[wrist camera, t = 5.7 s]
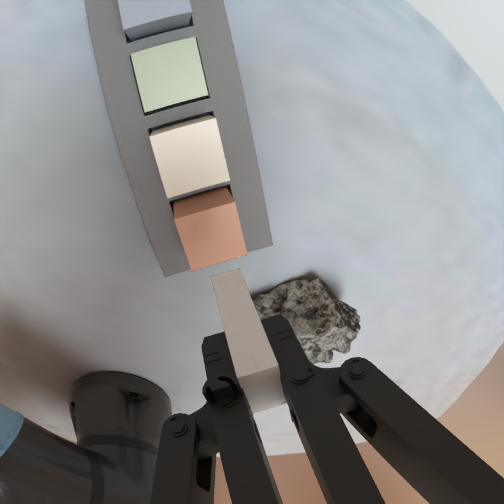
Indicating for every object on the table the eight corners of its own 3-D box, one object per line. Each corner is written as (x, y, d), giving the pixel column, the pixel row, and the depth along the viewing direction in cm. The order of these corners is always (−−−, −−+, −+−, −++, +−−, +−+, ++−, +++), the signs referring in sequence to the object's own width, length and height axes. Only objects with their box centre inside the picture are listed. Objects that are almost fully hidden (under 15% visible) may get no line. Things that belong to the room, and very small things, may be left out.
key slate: (131, 40, 17) (123, 30, 14) (122, -6, 15) (113, -23, 12) (188, 25, 18) (192, 11, 14) (178, -21, 16) (180, -40, 12)
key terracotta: (188, 247, 27) (191, 271, 23) (173, 200, 24) (174, 219, 21) (236, 232, 27) (247, 254, 24) (225, 185, 25) (235, 201, 21)
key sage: (149, 110, 22) (144, 112, 18) (137, 60, 19) (130, 54, 16) (202, 95, 22) (208, 95, 19) (191, 46, 20) (195, 36, 16)
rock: (335, 241, 35) (318, 273, 26) (372, 309, 36) (366, 358, 27) (250, 285, 42) (213, 322, 33) (286, 343, 42) (260, 388, 34)
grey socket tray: (164, 260, 29) (164, 276, 27) (91, -3, 16) (82, -13, 13) (263, 231, 30) (272, 244, 28) (207, -33, 17) (212, -47, 14)
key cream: (167, 182, 24) (167, 198, 20) (153, 130, 21) (149, 136, 18) (221, 167, 24) (230, 180, 21) (209, 114, 22) (215, 117, 18)
